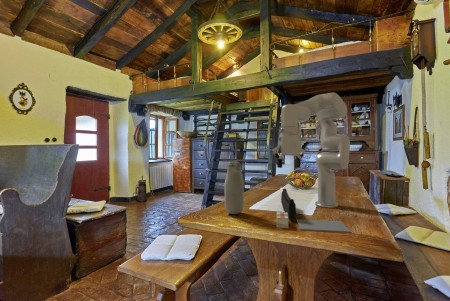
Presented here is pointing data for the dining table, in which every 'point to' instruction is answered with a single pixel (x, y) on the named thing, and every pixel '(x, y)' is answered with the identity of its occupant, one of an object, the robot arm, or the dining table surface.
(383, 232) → the dining table surface
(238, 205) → the glass bottle
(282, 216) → the card box
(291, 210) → the magazine
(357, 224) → the dining table surface
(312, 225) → the mat
